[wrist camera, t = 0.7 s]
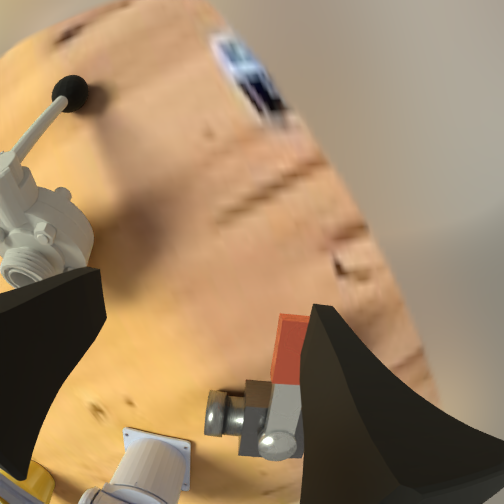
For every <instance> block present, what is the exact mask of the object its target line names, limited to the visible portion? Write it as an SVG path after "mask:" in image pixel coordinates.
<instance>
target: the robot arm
mask: <svg viewBox="0 0 504 504" xmlns="http://www.w3.org/2000/svg"><path fill="white" fill-rule="evenodd" d="M106 319H107V316H106V310H105V303H104V297H103V290H102V283H101V275H100V269H96V268H91V267H81V268H77V269H73V270H70V271H67V272H64V273H61V274H58V275H55V276H52V277H49V278H46V279H43V280H41V281H38V282H35V283H32V284H29V285H26V286H23V287H20V288H17V289H14V290H11V291H7V292H4V293H0V468H1V469H2V470H4V471H5V472H6V473H8V474H9V475H10V476H12V477H13V478H15V479H16V480H17V481H24V480H26V479H27V474H28V469H29V465H30V461H31V457H32V453H33V450H34V446H35V443H36V440H37V438H38V435H39V432H40V429H41V427H42V424H43V422H44V420H45V417H46V415H47V413H48V410H49V408H50V406H51V404H52V402H53V401H54V399H55V397H56V395H57V393H58V391H59V389H60V388H61V386H62V385H63V383H64V381H65V380H66V379H67V377H68V376H69V374H70V373H71V372H72V370H73V369H74V368H75V366H76V365H77V364H78V362H79V361H80V360H81V358H82V357H83V356H84V354H85V353H86V351H87V350H88V349H89V347H90V346H91V345H92V343H93V342H94V341H95V339H96V337H97V336H98V334H99V332H100V330H101V328H102V326H103V325H104V323H105V321H106ZM299 382H300V394H301V407H302V419H303V432H304V461H303V477H302V488H301V499H300V504H483V503H484V502H485V501H487V500H488V499H489V498H491V497H492V496H493V495H495V494H496V493H497V492H498V491H500V490H501V489H502V488H503V487H504V441H503V440H501V439H498V438H496V437H493V436H491V435H488V434H486V433H483V432H481V431H479V430H477V429H474V428H472V427H470V426H468V425H466V424H464V423H463V422H461V421H459V420H457V419H455V418H454V417H452V416H450V415H448V414H446V413H445V412H443V411H442V410H440V409H439V408H437V407H435V406H434V405H433V404H431V403H430V402H428V401H427V400H425V399H424V398H423V397H421V396H420V395H418V394H417V393H416V392H414V391H413V390H412V389H411V388H409V387H408V386H407V385H406V384H405V383H403V382H402V381H401V380H400V379H399V378H398V377H396V376H395V375H394V374H393V373H392V372H391V371H390V370H389V369H388V368H387V367H386V366H385V365H384V364H383V363H382V362H381V361H380V360H379V359H378V358H377V357H376V356H375V355H374V354H373V353H372V352H371V351H370V350H369V349H368V348H367V347H366V346H365V344H364V343H363V342H362V341H361V340H360V339H359V338H358V336H357V335H356V334H355V333H354V332H353V330H352V329H351V328H350V327H349V326H348V324H347V323H346V322H345V321H344V319H343V318H342V317H341V316H340V314H339V313H338V312H337V311H336V310H335V308H334V307H333V306H328V305H320V304H313V307H312V311H311V315H310V319H309V323H308V327H307V331H306V335H305V339H304V342H303V346H302V350H301V354H300V377H299ZM126 433H127V434H128V435H127V434H126ZM123 438H124V446H125V454H124V456H123V458H122V460H121V462H120V464H119V465H118V467H117V469H116V471H115V473H114V475H113V477H112V479H111V481H110V483H105V484H104V486H103V488H102V490H101V489H100V488H98V487H93V488H90V489H87V490H86V491H85V492H84V494H83V495H82V497H81V499H80V501H79V503H78V504H178V501H179V497H180V493H181V490H183V491H189V489H190V457H191V443H190V442H189V441H187V440H182V439H177V438H172V437H167V436H162V435H157V434H153V433H148V432H144V431H140V430H136V429H132V428H128V427H124V428H123ZM186 447H188V448H186ZM185 483H186V484H185ZM0 497H2V498H3V499H4V500H6V501H7V502H8V503H10V504H45V503H44V502H42V501H40V500H39V499H37V498H36V497H34V496H32V495H31V494H29V493H28V492H26V491H25V490H23V489H22V488H20V487H19V486H18V485H16V484H15V483H13V482H12V481H11V480H9V479H8V478H7V477H5V476H4V475H3V474H1V473H0Z"/></svg>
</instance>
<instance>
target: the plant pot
mask: <svg viewBox="0 0 504 504" xmlns="http://www.w3.org/2000/svg"><path fill="white" fill-rule="evenodd" d="M0 473H1V474H3V475H4V476H5V477H7V478H8V479H9V480H11V481H12V482H13V483H15V484H16V485H18V486H19V487H20V488H22V489H23V490H25V491H26V492H28V493H29V494H31V495H32V496H34V497H36V498H37V499H39V500H40V501H42V502H44V503H45V504H49V503H50V500H51V496H52V493H53V490H54V487H55V481H54V479H53V478H52V476H51V475H50V474H49V472H48V471H47V470H46V469H44V468H43V467H42V466H41V465H39V464H38V463H36V462H34V461H32V460H31V461H30V465H29V469H28V474H27V479H26V480H24V481H17V480H16V479H15V478H13V477H12V476H10V475H9V474H8V473H6V472H5V471H4V470H0ZM0 502H1V503H2V504H10V503H8V502H7V501H6V500H4V499H3V498H2V497H0Z"/></svg>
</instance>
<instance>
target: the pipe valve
mask: <svg viewBox="0 0 504 504" xmlns="http://www.w3.org/2000/svg"><path fill="white" fill-rule="evenodd" d="M272 385H273V383H272V382H264V381H253V380H246V383H245V390H244V396H243V397H236V396H228V395H227V392H220V391H213V390H210V392H209V396H208V402H207V409H206V417H205V428H204V435H208V436H215V437H222V434H223V435H231V436H239V448H238V455H239V456H251V457H262V456H261V455H260V454H259V450H258V435H259V433H260V431H261V430H262V429H264V427H265V422H266V417H267V412H268V406H269V401H270V396H271V390H272ZM294 435H295V440H296V444H297V449H296V451H295V453H294V454H293V455H292V456H291V457H289V458H302V456H303V452H304V432H303V419H302V407H301V411H300V415H299V419H298V423H297V427H296V430H295V434H294Z"/></svg>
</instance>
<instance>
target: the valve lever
mask: <svg viewBox="0 0 504 504" xmlns="http://www.w3.org/2000/svg"><path fill="white" fill-rule="evenodd" d="M309 319H310V316H301V315H291V314H281V313H280V316H279V322H278V328H277V335H276V341H275V347H274V353H273V359H272V365H271V371H270V375H271V381H272V383H273V385H272V390H271V396H270V401H269V406H268V412H267V417H266V422H265V427H264V429H262V430H261V431H260V433H259V435H258V450H259V454H260V455H261V456H262V457H263V458H265V459H267V460H270V461H281V460H285V459H287V458H289V457H291V456H292V455H293V454H294V453H295V451H296V449H297V444H296V440H295V435H294V434H295V430H296V427H297V423H298V419H299V415H300V411H301V394H300V382H299V377H300V354H301V350H302V346H303V342H304V339H305V335H306V331H307V327H308V323H309Z"/></svg>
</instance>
